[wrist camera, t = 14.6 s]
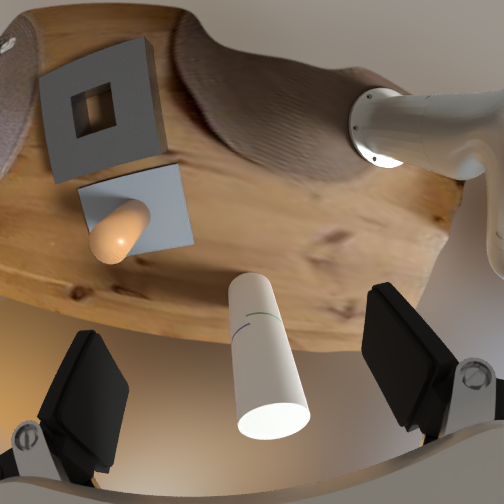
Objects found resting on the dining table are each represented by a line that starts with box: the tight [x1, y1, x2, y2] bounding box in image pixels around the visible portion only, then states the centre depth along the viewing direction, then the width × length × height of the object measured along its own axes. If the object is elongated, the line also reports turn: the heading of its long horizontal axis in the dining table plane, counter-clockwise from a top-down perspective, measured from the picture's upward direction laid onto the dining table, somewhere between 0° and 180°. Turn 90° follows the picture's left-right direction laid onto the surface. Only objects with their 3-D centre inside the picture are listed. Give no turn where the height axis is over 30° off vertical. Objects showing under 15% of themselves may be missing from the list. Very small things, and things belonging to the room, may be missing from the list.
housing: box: [39, 36, 168, 185], centre depth 31 cm, size 16×16×5 cm
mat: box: [78, 163, 194, 261], centre depth 40 cm, size 16×12×1 cm
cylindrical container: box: [228, 272, 310, 440], centre depth 36 cm, size 7×7×25 cm
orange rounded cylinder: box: [89, 199, 150, 264], centre depth 35 cm, size 5×5×11 cm
